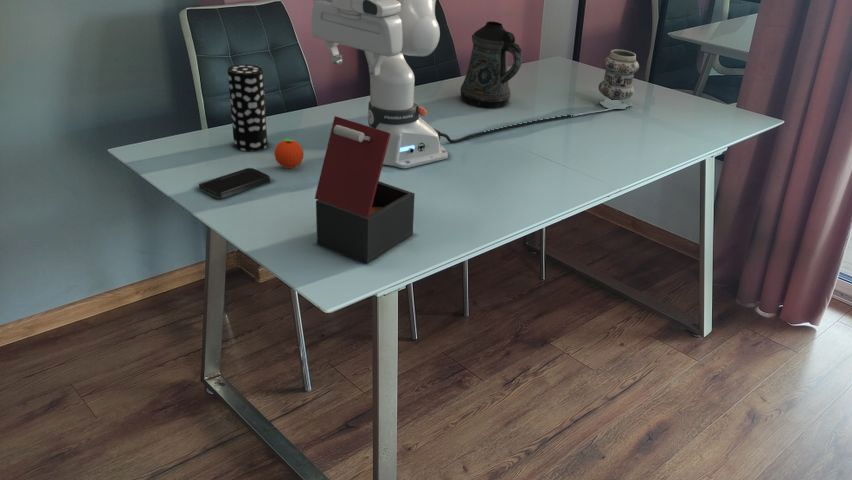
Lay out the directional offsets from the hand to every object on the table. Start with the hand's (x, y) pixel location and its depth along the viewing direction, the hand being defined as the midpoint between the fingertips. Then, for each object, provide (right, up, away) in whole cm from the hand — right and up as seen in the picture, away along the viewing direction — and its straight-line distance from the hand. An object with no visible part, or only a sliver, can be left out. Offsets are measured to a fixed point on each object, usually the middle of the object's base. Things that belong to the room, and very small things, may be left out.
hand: (355, 69), depth 153 cm
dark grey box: (+1, -34, +8) cm, 35 cm away
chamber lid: (0, -20, -4) cm, 21 cm away
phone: (-33, -20, +24) cm, 46 cm away
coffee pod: (+3, -32, +11) cm, 33 cm away
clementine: (-24, -14, +37) cm, 46 cm away
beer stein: (+25, +16, +97) cm, 101 cm away
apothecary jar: (+68, +17, +106) cm, 127 cm away
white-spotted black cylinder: (-36, -7, +45) cm, 58 cm away
